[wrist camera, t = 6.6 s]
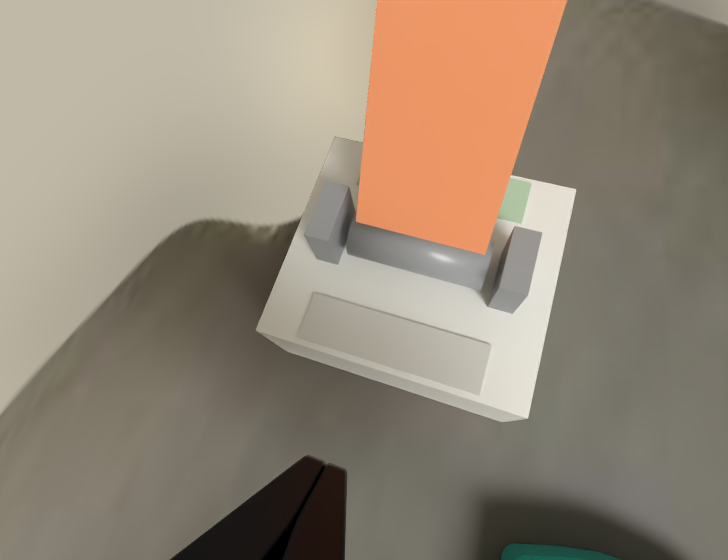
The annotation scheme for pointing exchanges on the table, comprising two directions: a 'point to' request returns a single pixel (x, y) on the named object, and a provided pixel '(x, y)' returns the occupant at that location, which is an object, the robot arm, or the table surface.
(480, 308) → the switch base
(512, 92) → the lever
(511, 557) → the digital multimeter
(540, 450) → the table surface
